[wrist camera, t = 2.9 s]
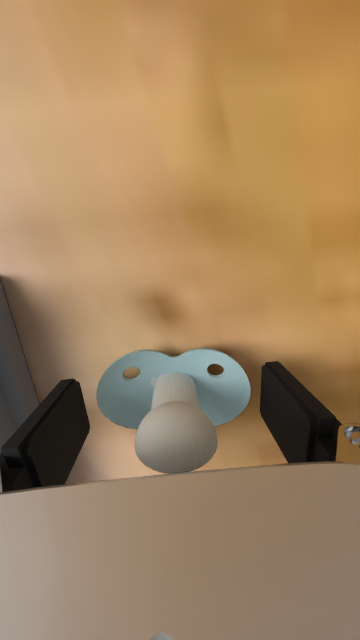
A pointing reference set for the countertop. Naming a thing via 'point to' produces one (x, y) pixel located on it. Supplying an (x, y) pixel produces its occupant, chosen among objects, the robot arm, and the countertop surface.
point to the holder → (13, 377)
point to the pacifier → (174, 404)
